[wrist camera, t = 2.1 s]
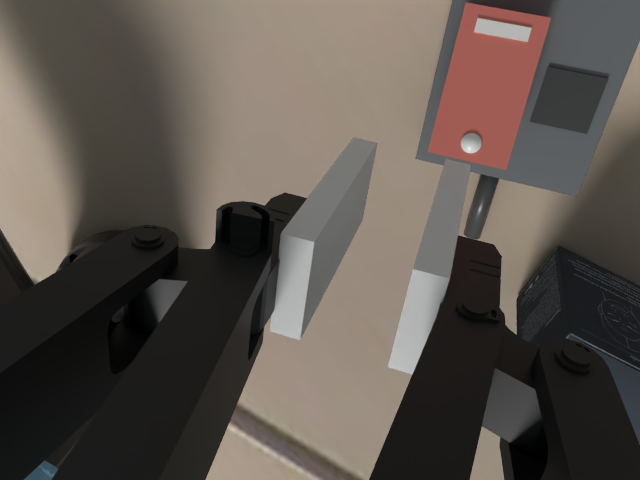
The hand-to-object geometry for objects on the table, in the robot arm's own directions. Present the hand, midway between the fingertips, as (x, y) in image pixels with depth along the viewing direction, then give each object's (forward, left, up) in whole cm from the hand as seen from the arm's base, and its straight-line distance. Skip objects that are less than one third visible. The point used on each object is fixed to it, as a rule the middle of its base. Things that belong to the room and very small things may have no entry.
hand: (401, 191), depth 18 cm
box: (+13, -15, -23) cm, 30 cm away
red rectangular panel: (+2, 0, -17) cm, 17 cm away
